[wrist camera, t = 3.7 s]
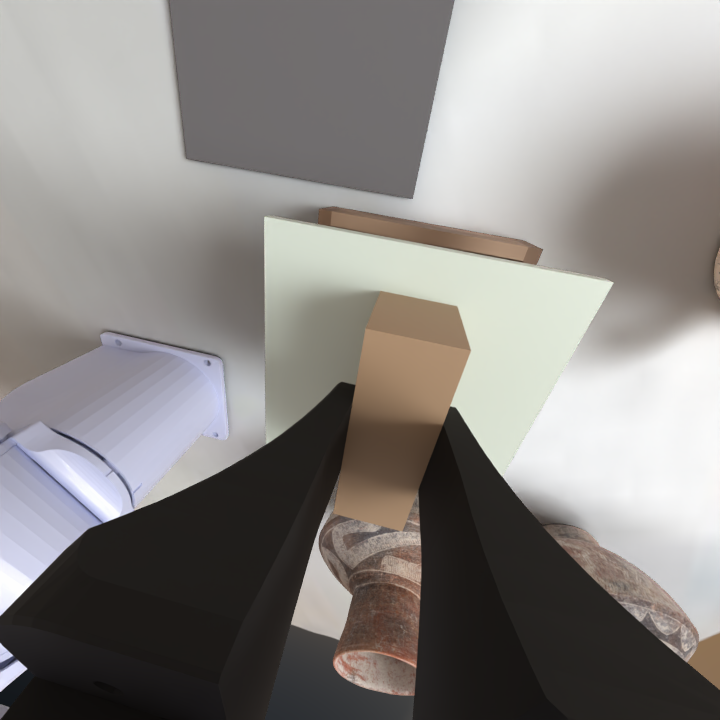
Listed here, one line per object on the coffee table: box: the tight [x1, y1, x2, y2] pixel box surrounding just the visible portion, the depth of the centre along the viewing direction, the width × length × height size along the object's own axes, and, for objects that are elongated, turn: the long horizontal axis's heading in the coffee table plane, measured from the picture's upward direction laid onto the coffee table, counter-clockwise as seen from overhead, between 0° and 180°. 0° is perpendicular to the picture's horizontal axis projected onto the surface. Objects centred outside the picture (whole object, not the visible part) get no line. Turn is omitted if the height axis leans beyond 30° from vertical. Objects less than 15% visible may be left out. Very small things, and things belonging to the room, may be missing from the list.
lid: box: [264, 215, 614, 531], centre depth 10 cm, size 10×10×4 cm
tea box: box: [318, 207, 543, 265], centre depth 18 cm, size 10×10×3 cm
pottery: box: [319, 492, 699, 695], centre depth 21 cm, size 11×25×12 cm, turn 71°
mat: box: [169, 0, 454, 199], centre depth 13 cm, size 12×12×1 cm
